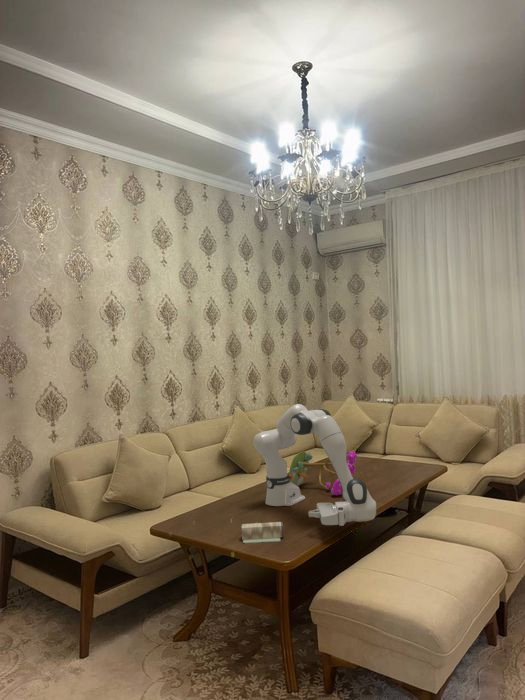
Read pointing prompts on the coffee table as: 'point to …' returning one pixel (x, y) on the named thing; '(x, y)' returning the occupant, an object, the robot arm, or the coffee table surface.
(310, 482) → the coffee table surface
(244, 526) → the maple block
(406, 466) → the coffee table surface
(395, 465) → the coffee table surface
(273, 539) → the sage mat
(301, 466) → the chameleon on flowering branch
